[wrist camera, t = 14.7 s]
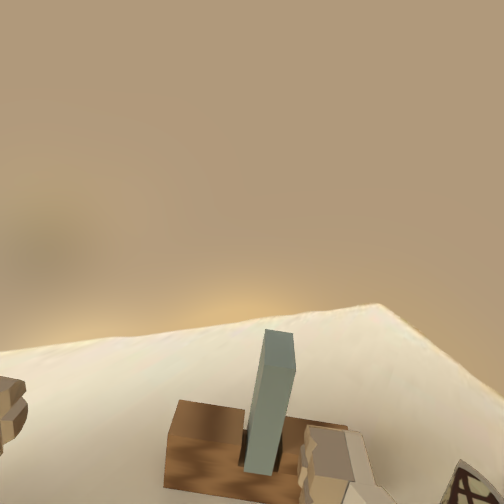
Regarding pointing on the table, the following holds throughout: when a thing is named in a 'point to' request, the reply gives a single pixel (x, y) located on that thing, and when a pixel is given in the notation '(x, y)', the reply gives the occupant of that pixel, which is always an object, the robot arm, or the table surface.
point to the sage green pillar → (269, 401)
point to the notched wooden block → (230, 455)
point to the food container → (470, 488)
